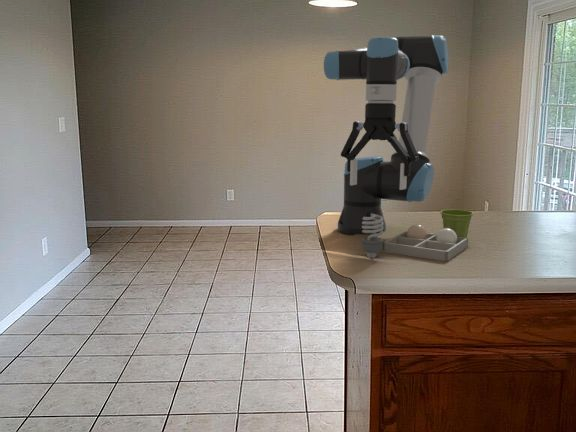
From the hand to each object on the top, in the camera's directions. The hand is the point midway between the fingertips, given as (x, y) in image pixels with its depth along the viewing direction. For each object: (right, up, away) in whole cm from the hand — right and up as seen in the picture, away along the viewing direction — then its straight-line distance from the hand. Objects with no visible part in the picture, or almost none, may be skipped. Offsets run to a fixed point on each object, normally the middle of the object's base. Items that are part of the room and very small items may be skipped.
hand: (377, 187), depth 153 cm
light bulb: (-1, -19, +4) cm, 19 cm away
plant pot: (+26, -15, +24) cm, 38 cm away
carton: (+15, -17, +12) cm, 25 cm away
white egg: (+21, -16, +13) cm, 29 cm away
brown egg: (+14, -15, +17) cm, 27 cm away
